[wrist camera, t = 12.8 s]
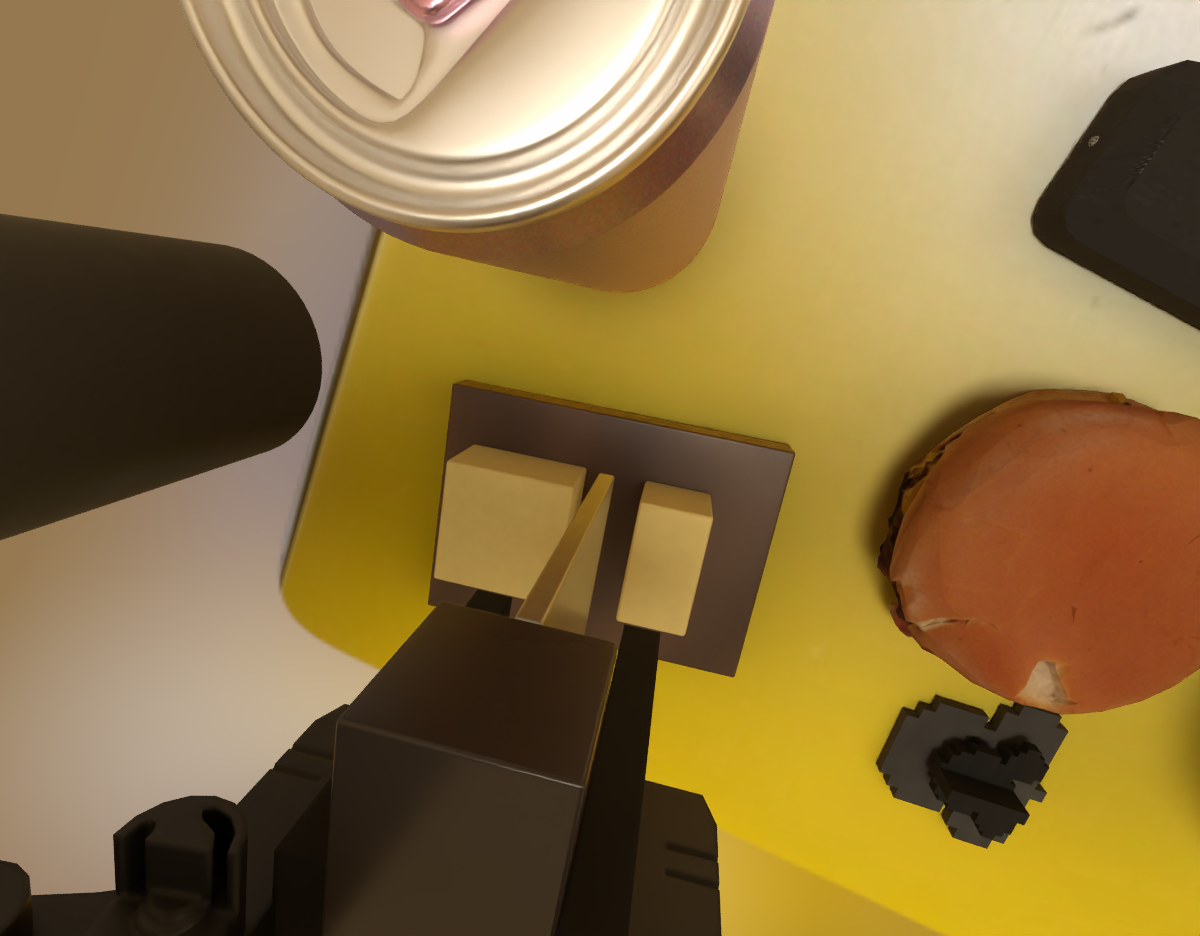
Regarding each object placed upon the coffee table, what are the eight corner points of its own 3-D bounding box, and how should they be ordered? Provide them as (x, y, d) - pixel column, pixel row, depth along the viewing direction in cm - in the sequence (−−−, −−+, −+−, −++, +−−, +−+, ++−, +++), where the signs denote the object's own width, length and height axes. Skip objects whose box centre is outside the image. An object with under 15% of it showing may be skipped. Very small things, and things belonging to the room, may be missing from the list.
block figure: (948, 709, 20) (1123, 764, 19) (921, 668, 22) (1079, 717, 22) (876, 850, 21) (1038, 904, 21) (859, 799, 24) (1004, 846, 23)
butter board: (440, 591, 24) (427, 605, 23) (464, 379, 22) (452, 382, 21) (732, 660, 23) (734, 678, 22) (790, 444, 21) (795, 452, 20)
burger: (1210, 371, 18) (1376, 392, 14) (1171, 650, 21) (1303, 745, 16) (863, 395, 20) (911, 421, 16) (861, 651, 22) (902, 738, 18)
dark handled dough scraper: (560, 463, 15) (334, 719, 6) (654, 484, 15) (585, 786, 5) (520, 702, 17) (300, 1197, 8) (604, 723, 17) (486, 1262, 7)
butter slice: (623, 587, 22) (615, 621, 19) (645, 479, 21) (639, 501, 18) (685, 601, 21) (684, 637, 19) (711, 493, 20) (713, 518, 18)
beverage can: (756, 221, 19) (947, -39, 5) (597, 328, 21) (386, 369, 6) (654, 46, 18) (527, -884, 4) (497, 169, 20) (1, -193, 6)
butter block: (460, 549, 22) (432, 578, 20) (473, 443, 21) (446, 460, 19) (568, 574, 22) (553, 607, 19) (587, 467, 21) (573, 487, 18)
